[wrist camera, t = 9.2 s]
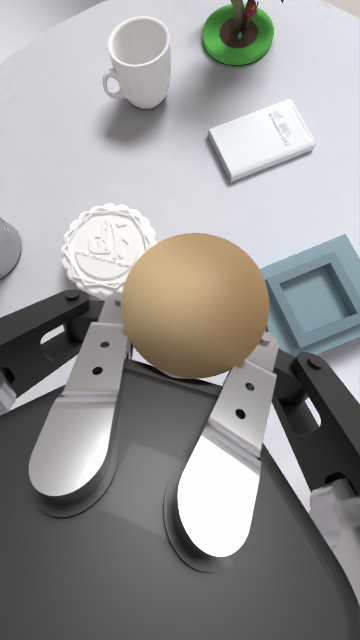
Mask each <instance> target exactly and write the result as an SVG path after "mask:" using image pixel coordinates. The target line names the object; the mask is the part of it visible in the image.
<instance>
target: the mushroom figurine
mask: <svg viewBox="0 0 360 640" xmlns="http://www.w3.org/2000/svg"><path fill="white" fill-rule="evenodd" d="M281 1H282V3H283V1H284V0H281ZM231 2H232V4H230V5H226V6H224V7H221V8H219V9H218V10H216V11H215V12H213V13H212V14H211V15H210V16H209V18H208V19H207V21H206V22H205V25H204V28H203V44H204V47H205V49H206V51H207V52H208V53H209V55H210V56H211V57H213V58H214V59H215V60H217V61H219V62H221V63H224V64H228V65H244V64H249V63H252V62H254V61H256V60H258V59H259V58H261V57H262V56H263V55H264V54H265V53H266V52H267V51H268V49H269V47H270V45H271V43H272V39H273V35H274V27H273V23H272V21H271V19H270V17H269V16H268V15H267V14H266V13H265V12H264V11H263V10H261V9H259V8H258V7H257V6H258V3H259V2H258V3H257V6H256V2H255V0H248V2H247V4H243V1H242V0H231Z"/></svg>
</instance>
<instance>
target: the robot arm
mask: <svg viewBox="0 0 360 640" xmlns="http://www.w3.org/2000/svg"><path fill="white" fill-rule="evenodd" d="M20 252H21V242H20V237H19V235H18V233H17V231H16V230H15V229H14V227H12V226H11V225H10V224H9V223H7V222H6V221H4V220H3V219H1V218H0V278H2V277H4V276H5V275H7V274H8V273H9V272H10V271H11V270H12V269H13V267H14V266H15V265H16V263H17V261H18V259H19V256H20ZM121 299H122V293H116V294H112V295H110V296H108V297H107V298H106V300H105V301H90V300H89V296H88V294H87V293H86V292H84V291H81V290H67V291H63V292H61V293H58V294H56V295H54V296H51V297H49V298H46V299H44V300H42V301H39V302H37V303H35V304H32V305H30V306H27V307H25V308H23V309H20V310H18V311H16V312H13V313H11V314H8V315H6V316H4V317H1V318H0V640H360V404H359V403H358V401H357V400H356V399H355V398H354V396H353V395H352V394H351V393H350V391H349V390H348V389H347V388H346V386H345V385H344V384H343V383H342V381H341V380H340V379H339V377H338V376H337V375H336V374H335V372H334V371H333V370H332V369H331V367H330V366H329V365H328V364H327V363H326V362H325V361H324V360H323V359H322V358H320V357H319V356H317V355H315V354H312V353H309V352H300V353H299V354H298V355H297V356H296V357H295V356H293V355H291V354H289V353H287V352H285V351H283V350H281V349H280V348H279V343H278V341H277V339H276V338H275V337H274V336H273V335H272V334H270V333H269V331H268V327H267V325H266V329H265V332H264V334H263V336H262V338H261V340H260V342H259V343H258V345H257V347H256V348H255V349H254V351H253V352H252V353H251V354H250V355H249V356H248V357H247V358H246V359H245V360H244V361H243V362H242V363H240V364H239V365H237V366H236V367H233V369H231V370H230V371H229V373H228V375H227V377H226V379H225V381H224V383H223V385H222V386H220V385H216V384H213V383H209V382H206V381H203V380H199V379H186V378H173V377H170V376H169V375H167V374H165V373H163V372H162V371H160V370H158V369H156V368H154V367H153V366H151V365H148V364H145V363H141V362H138V361H134V360H132V356H133V348H134V346H133V344H132V343H131V341H130V340H129V337H128V335H127V333H126V331H125V327H124V324H123V320H122V314H121ZM62 324H63V327H64V330H65V331H63V332H62V333H60V334H58V335H57V336H55V337H53V338H51V339H50V340H48V341H46V342H45V343H43V344H41V343H40V342H41V339H42V337H43V336H44V335H45V334H46V333H48V332H50V331H52V330H53V329H55V328H57V327H59V326H61V325H62ZM77 354H78V356H77V359H76V361H75V364H74V366H73V369H72V371H71V374H70V376H69V379H68V381H67V384H66V385H64V386H61V387H59V388H57V389H55V390H53V391H51V392H49V393H47V394H45V395H42V396H40V397H38V398H36V399H34V400H32V401H30V402H28V403H26V404H24V405H21V406H19V407H17V408H15V409H13V410H10V408H11V407H12V405H13V404H14V402H15V400H16V398H18V397H19V396H21V395H22V394H23V393H25V392H26V391H28V390H29V389H30V388H32V387H33V386H34V385H36V384H37V383H39V382H40V381H41V380H43V379H44V378H46V377H47V376H48V375H50V374H51V373H52V372H54V371H55V370H57V369H58V368H59V367H61V366H62V365H63V364H65V363H66V362H68V361H69V360H70V359H72V358H73V357H75V356H76V355H77ZM308 397H309V398H310V400H311V401H312V403H313V405H314V406H315V408H316V410H317V411H318V413H319V415H320V418H321V425H320V427H319V425H318V424H317V422H316V420H315V418H314V417H313V415H312V413H311V411H310V410H309V408H308V406H307V404H306V403H305V400H306V399H307V398H308ZM271 401H272V404H273V406H274V408H275V410H276V413H277V415H278V417H279V420H280V422H281V424H282V427H283V429H284V431H285V434H286V436H287V438H288V441H289V443H290V445H291V447H292V450H293V452H294V454H295V457H296V459H297V461H298V464H299V466H300V468H301V470H302V473H303V475H304V477H305V480H306V482H307V484H308V486H309V489H310V491H311V495H310V508H311V509H310V510H309V514H308V512H307V511H306V510H305V508H304V506H303V505H302V503H301V501H300V500H299V499H298V497H297V495H296V494H295V492H294V491H293V489H292V487H291V486H290V484H289V483H288V481H287V480H286V478H285V476H284V475H283V474H282V472H281V470H280V469H279V467H278V465H277V464H276V462H275V461H274V459H273V458H272V456H271V455H270V453H269V451H268V450H267V448H266V447H265V445H264V444H263V438H264V433H265V428H266V424H267V419H268V414H269V410H270V405H271Z"/></svg>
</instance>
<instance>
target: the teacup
mask: <svg viewBox="0 0 360 640" xmlns="http://www.w3.org/2000/svg"><path fill="white" fill-rule="evenodd" d="M108 51H109V54H110V58H111V61H112V65H113V69H109V70H107V71H106V72H105V74H104V76H103V87H104V90H105V92H106V94H107V95H108V96H109V97H111V98H114V99H123V98H126V99H128V100H129V101H130V102H131V103H132V104H133V105H135V106H137V107H139V108H143V109H150V108H153V107H155V106H157V105H158V104H159V103H161V102H162V100H163V99H164V97H165V96H166V94H167V91H168V88H169V83H170V75H171V46H170V34H169V31H168V29H167V27H166V26H165V24H164V23H162V22H161V21H160V20H158V19H156V18H153V17H148V16H138V17H133V18H130V19H127V20H125V21H123V22H122V23H120V24H119V25H118V26H117V27H116V28H115V29H114V30H113V31H112V33H111V34H110V36H109V39H108ZM109 77H113V78H114V79H116V80H117V81H118V83H119V86H120V90H119V91H118V92H117V93H110V92H109V91H108V89H107V80H108V78H109Z"/></svg>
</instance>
